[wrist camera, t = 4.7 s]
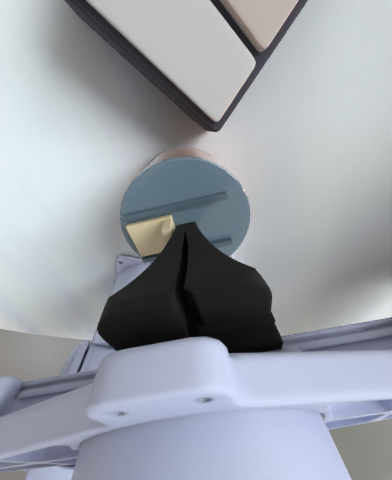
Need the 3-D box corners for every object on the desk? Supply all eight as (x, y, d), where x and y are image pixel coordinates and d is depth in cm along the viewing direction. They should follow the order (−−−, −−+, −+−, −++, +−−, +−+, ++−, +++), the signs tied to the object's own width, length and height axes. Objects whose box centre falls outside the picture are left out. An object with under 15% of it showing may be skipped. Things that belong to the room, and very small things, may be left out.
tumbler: (224, 130, 15) (252, 140, 9) (232, 221, 21) (253, 264, 15) (122, 156, 16) (87, 181, 10) (157, 238, 21) (148, 285, 15)
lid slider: (171, 213, 12) (170, 227, 10) (181, 245, 13) (181, 261, 12) (126, 224, 12) (119, 239, 11) (142, 253, 14) (137, 270, 12)
